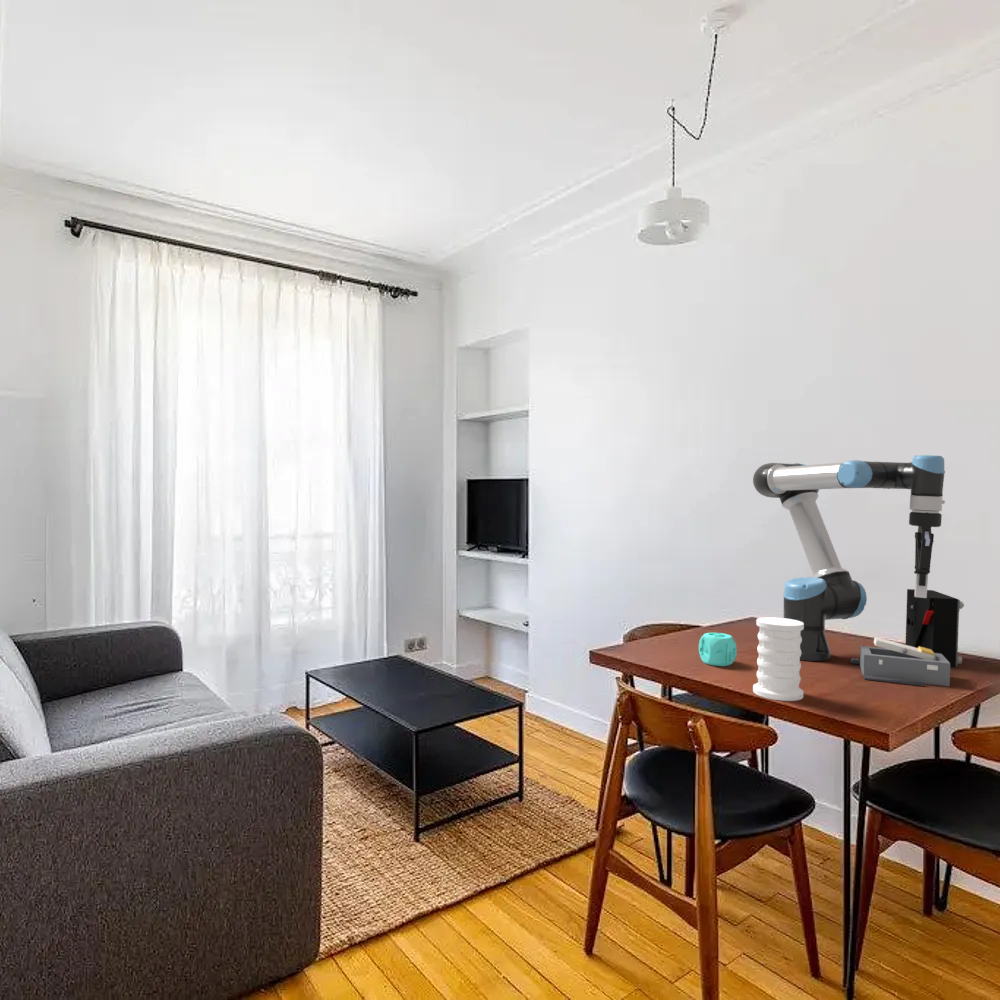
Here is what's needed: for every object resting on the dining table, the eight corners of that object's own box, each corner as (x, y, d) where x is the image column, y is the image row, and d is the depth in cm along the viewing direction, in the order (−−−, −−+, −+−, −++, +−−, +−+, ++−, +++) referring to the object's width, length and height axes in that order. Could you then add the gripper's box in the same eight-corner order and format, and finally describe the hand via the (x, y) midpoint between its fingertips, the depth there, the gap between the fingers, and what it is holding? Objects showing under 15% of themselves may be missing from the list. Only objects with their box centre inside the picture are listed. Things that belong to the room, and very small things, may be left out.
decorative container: (767, 684, 179) (769, 615, 179) (811, 695, 170) (814, 622, 170) (744, 692, 171) (746, 620, 171) (789, 704, 163) (791, 628, 162)
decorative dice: (710, 666, 196) (711, 638, 196) (698, 659, 204) (698, 632, 204) (736, 666, 197) (737, 638, 197) (723, 659, 205) (724, 632, 205)
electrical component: (964, 668, 200) (966, 599, 199) (925, 665, 202) (927, 597, 201) (938, 654, 217) (940, 590, 217) (902, 651, 219) (904, 589, 219)
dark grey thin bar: (864, 679, 185) (864, 676, 185) (864, 678, 186) (864, 675, 186) (925, 686, 180) (925, 683, 180) (924, 685, 180) (924, 682, 180)
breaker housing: (863, 676, 188) (864, 654, 188) (859, 666, 199) (860, 645, 199) (949, 686, 180) (950, 663, 180) (940, 675, 191) (941, 653, 191)
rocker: (875, 646, 190) (877, 638, 189) (873, 641, 195) (875, 634, 195) (933, 662, 184) (935, 654, 184) (929, 656, 190) (931, 649, 190)
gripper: (946, 513, 182) (940, 602, 183) (937, 511, 193) (932, 594, 195) (913, 512, 185) (908, 599, 186) (906, 509, 196) (901, 592, 198)
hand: (920, 597), depth 190 cm, fingers closed
